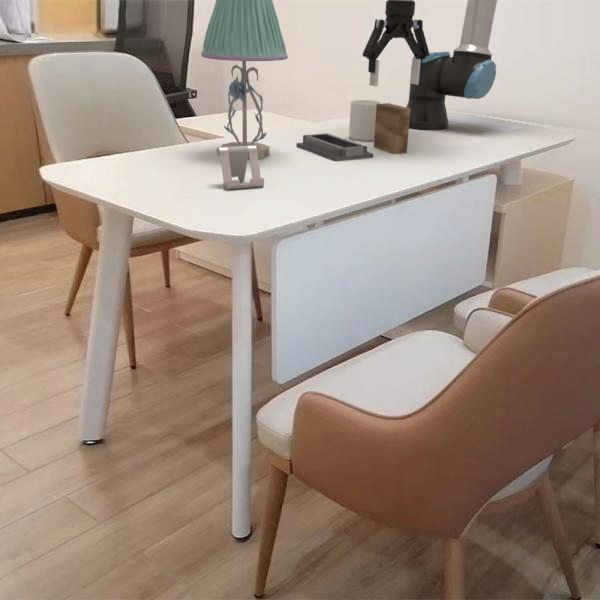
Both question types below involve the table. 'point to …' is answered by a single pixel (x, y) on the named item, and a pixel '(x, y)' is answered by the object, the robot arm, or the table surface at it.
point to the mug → (362, 120)
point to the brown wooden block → (391, 128)
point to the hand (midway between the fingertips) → (394, 84)
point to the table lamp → (244, 51)
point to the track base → (334, 147)
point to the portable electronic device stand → (239, 166)
